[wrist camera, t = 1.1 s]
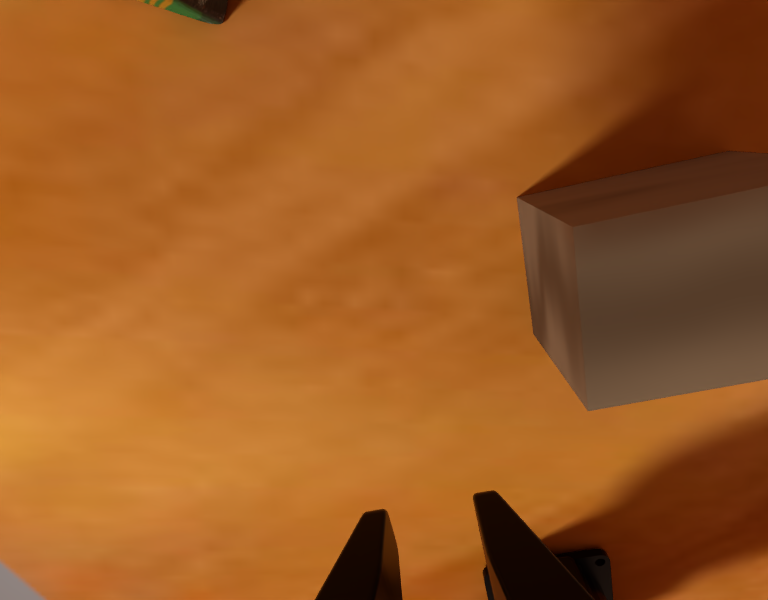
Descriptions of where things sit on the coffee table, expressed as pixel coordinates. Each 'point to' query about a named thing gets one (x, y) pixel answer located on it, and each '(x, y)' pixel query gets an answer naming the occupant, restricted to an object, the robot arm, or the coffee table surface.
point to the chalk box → (194, 8)
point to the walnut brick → (652, 278)
